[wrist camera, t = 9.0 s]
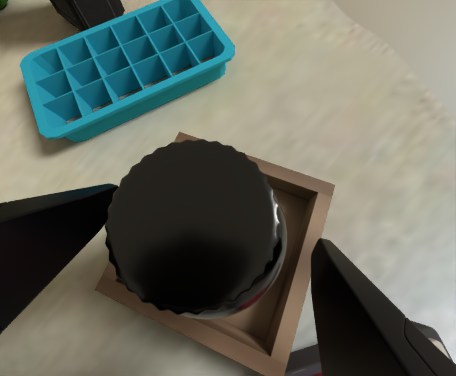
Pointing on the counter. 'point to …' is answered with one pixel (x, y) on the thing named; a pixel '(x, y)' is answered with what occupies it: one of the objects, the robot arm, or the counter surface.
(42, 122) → the ice cube tray
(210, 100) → the counter surface
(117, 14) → the portable radio
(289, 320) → the holder
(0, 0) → the bell pepper
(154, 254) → the supplement bottle
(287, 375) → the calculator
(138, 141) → the counter surface
